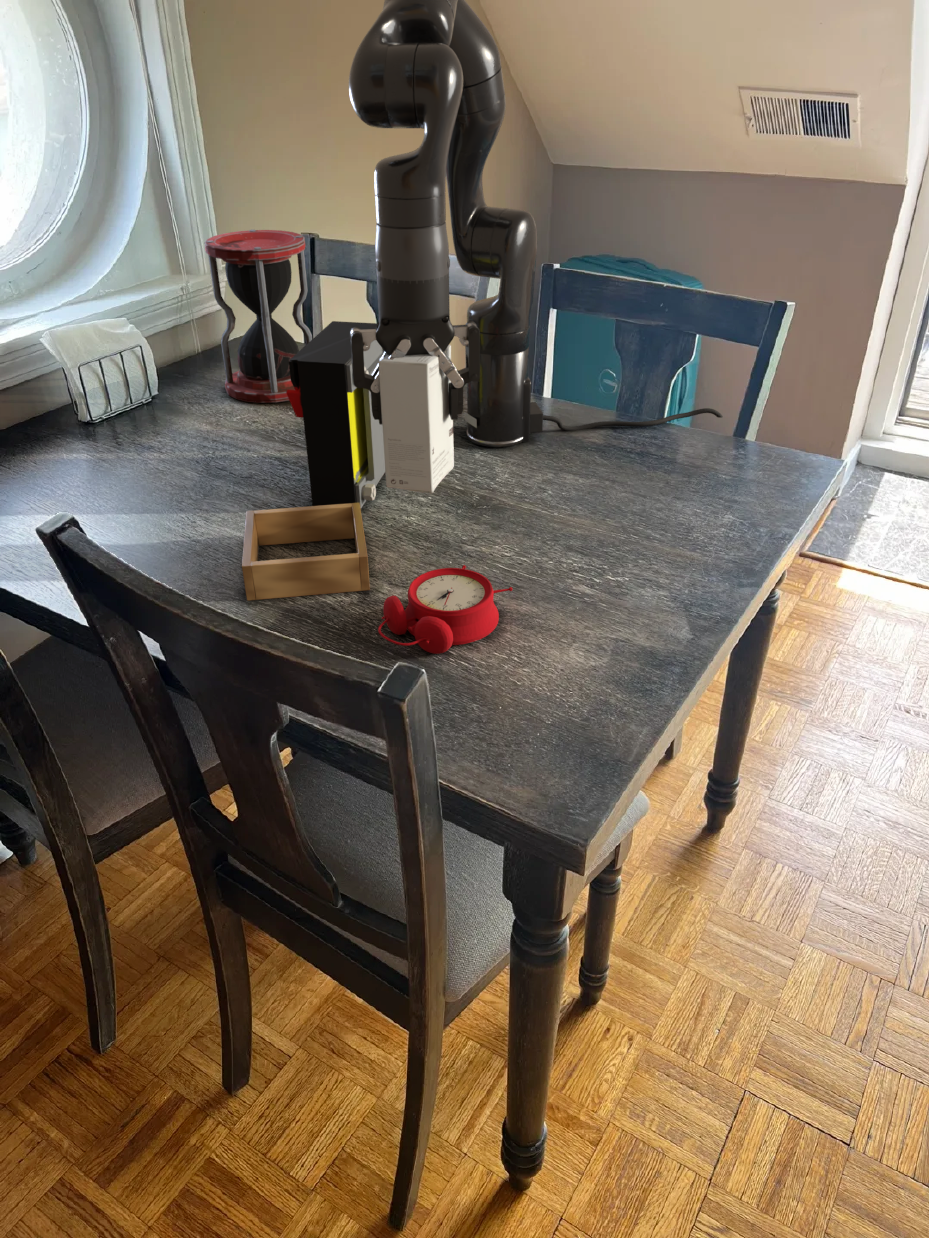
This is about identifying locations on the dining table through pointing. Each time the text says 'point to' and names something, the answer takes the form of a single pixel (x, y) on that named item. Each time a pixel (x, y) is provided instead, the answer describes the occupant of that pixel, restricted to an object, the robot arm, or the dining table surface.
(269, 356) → the hourglass
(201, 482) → the dining table surface
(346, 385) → the electrical component
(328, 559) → the wooden frame
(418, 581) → the alarm clock
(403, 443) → the cosmetic box
